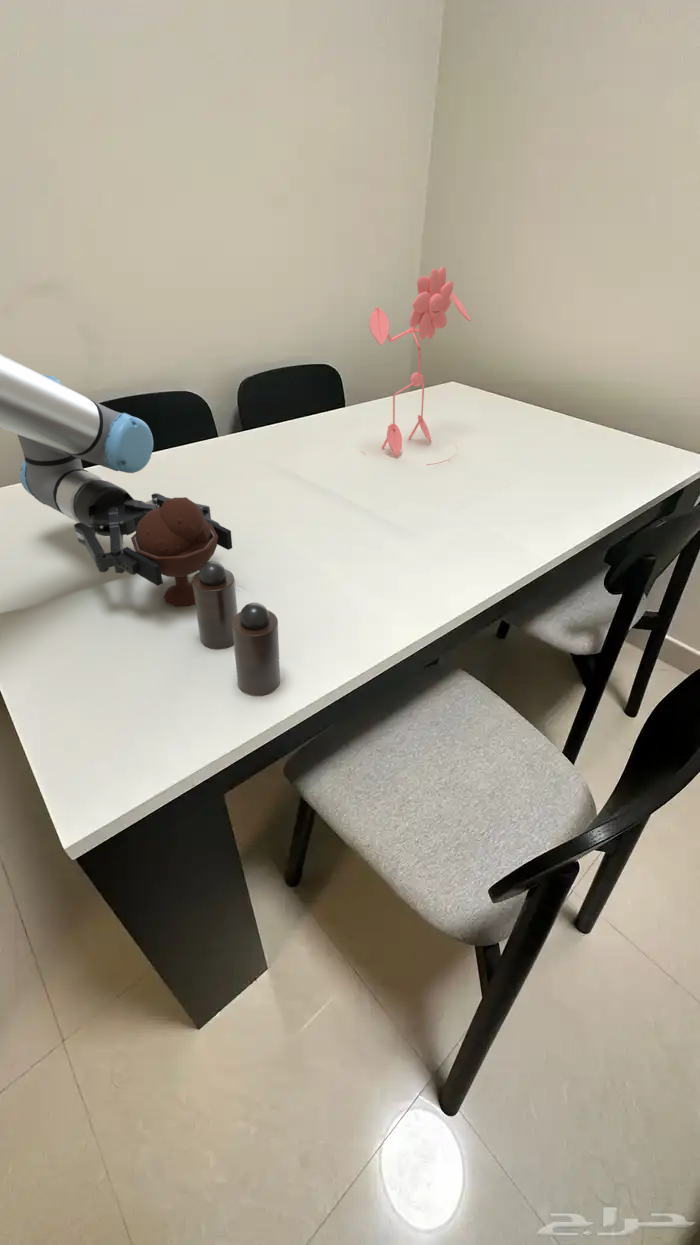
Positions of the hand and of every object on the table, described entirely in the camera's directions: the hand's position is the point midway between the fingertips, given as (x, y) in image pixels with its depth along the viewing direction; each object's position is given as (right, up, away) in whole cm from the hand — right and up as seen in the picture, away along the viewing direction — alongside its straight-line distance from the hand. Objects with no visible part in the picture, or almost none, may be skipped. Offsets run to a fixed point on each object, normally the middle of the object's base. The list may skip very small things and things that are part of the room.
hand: (196, 557), depth 75 cm
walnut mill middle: (+3, -10, 0) cm, 11 cm away
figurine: (+35, +29, +53) cm, 69 cm away
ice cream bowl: (-3, -5, +7) cm, 9 cm away
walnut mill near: (+9, -15, -6) cm, 19 cm away
